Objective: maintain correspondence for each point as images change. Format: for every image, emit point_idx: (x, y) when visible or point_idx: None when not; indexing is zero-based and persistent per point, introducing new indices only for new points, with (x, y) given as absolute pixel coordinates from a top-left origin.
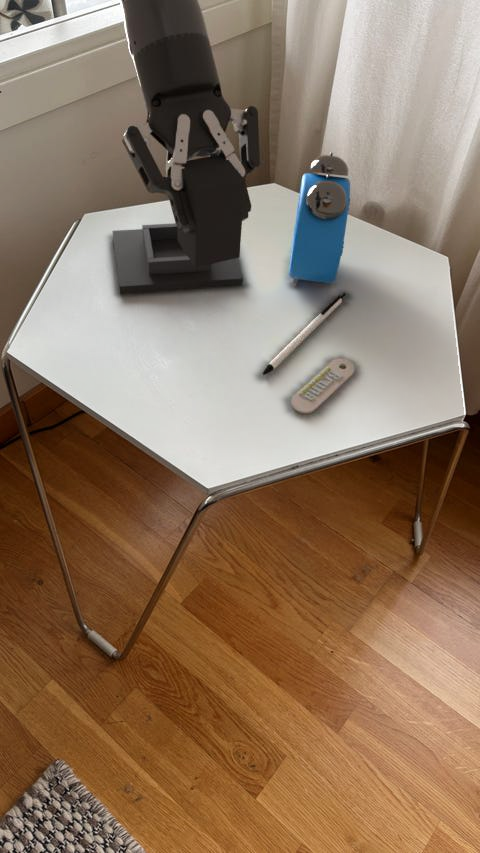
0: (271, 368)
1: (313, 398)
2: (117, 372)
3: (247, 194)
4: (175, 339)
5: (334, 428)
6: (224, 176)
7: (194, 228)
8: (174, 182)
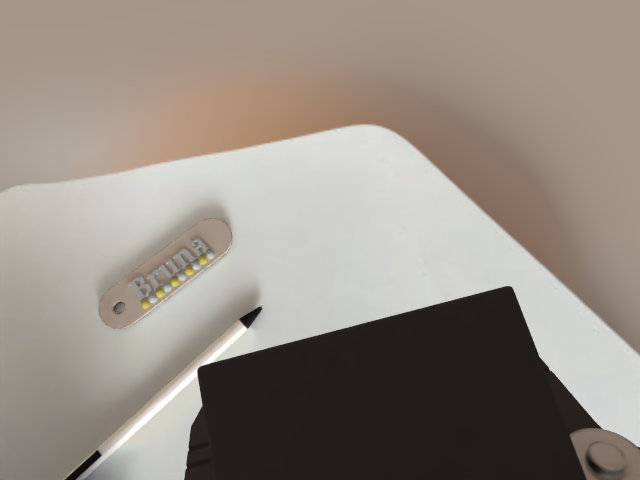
0: (243, 316)
1: (194, 241)
2: None
3: (190, 472)
4: None
5: (182, 190)
6: (320, 423)
7: None
8: (630, 464)
